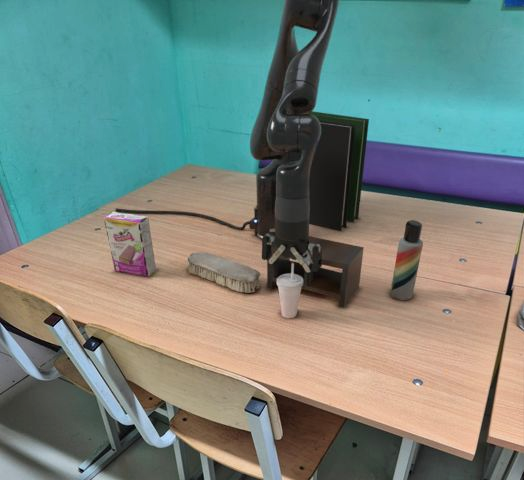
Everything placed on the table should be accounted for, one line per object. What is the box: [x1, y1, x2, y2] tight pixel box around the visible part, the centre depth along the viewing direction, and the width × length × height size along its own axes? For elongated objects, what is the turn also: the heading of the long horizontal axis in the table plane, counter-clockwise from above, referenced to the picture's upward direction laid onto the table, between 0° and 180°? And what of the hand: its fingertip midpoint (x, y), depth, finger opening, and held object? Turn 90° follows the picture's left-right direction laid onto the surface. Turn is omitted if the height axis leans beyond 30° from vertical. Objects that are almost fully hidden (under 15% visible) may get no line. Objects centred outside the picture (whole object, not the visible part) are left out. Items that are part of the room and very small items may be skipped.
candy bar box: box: [103, 211, 157, 278], centre depth 137 cm, size 11×5×16 cm, turn 71°
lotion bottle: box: [390, 219, 424, 301], centre depth 123 cm, size 6×6×20 cm
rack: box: [266, 235, 365, 309], centre depth 129 cm, size 22×11×12 cm, turn 61°
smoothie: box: [276, 263, 303, 319], centre depth 118 cm, size 6×6×14 cm
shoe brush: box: [187, 251, 261, 294], centre depth 135 cm, size 24×8×5 cm, turn 54°
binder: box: [288, 110, 370, 232], centre depth 163 cm, size 27×15×32 cm, turn 54°
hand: (290, 280), depth 117 cm, fingers open, 8 cm apart
